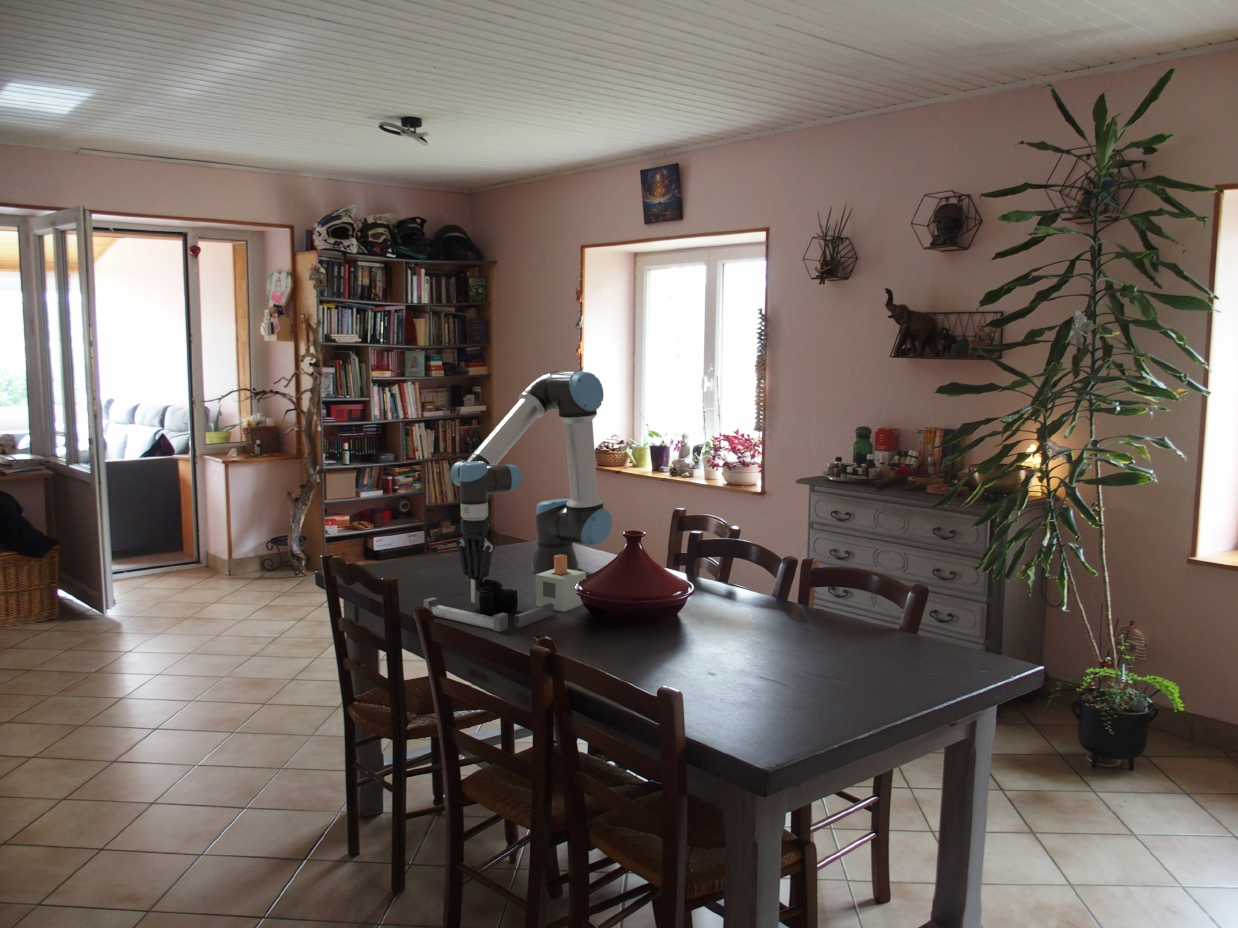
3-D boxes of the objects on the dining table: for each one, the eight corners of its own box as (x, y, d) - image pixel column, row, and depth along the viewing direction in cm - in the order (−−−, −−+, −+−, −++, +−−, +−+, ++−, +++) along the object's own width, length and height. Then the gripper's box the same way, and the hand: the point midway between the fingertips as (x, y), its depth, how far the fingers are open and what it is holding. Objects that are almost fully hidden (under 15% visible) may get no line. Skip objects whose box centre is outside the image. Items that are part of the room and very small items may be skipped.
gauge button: (559, 574, 268) (559, 553, 267) (569, 576, 266) (569, 555, 265) (551, 577, 265) (551, 556, 265) (561, 579, 263) (561, 557, 262)
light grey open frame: (474, 598, 274) (474, 584, 274) (553, 614, 257) (553, 600, 256) (423, 614, 258) (423, 599, 258) (504, 633, 241) (504, 617, 241)
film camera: (512, 620, 252) (511, 587, 251) (476, 620, 252) (475, 587, 251) (520, 604, 267) (519, 573, 266) (485, 604, 267) (485, 573, 266)
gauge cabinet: (558, 597, 274) (558, 567, 273) (586, 603, 268) (585, 572, 267) (535, 606, 265) (534, 574, 264) (562, 611, 260) (562, 579, 258)
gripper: (447, 517, 261) (450, 600, 264) (482, 522, 254) (483, 608, 257) (467, 513, 267) (469, 594, 270) (501, 518, 260) (502, 601, 263)
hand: (476, 601), depth 264 cm, fingers closed
